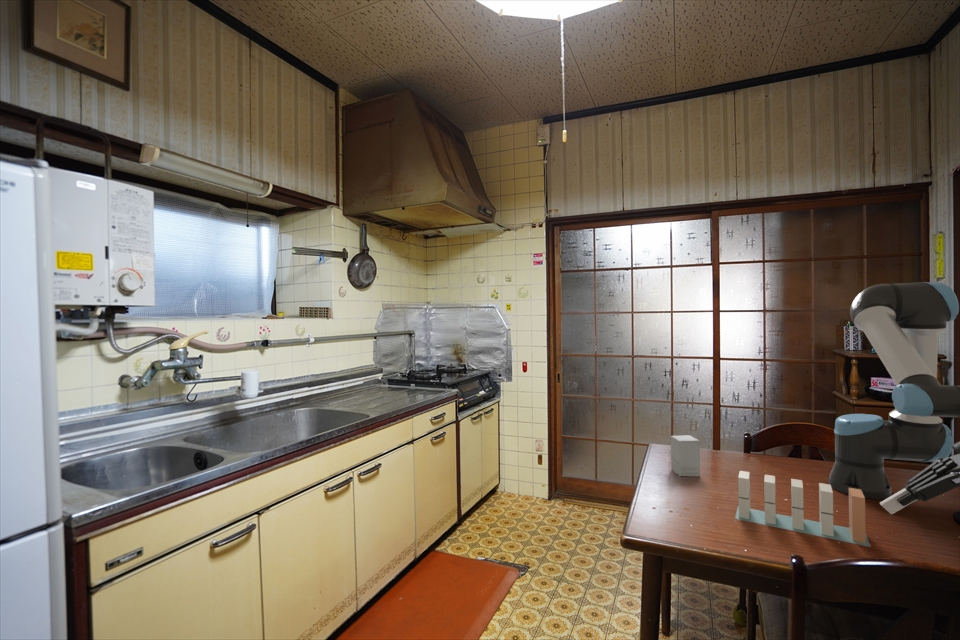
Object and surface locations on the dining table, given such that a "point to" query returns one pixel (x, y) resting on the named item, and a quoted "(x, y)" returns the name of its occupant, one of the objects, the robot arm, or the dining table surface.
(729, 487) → the dining table surface
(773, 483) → the domino
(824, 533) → the domino
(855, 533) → the terracotta domino
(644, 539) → the dining table surface
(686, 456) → the supplement box
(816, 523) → the domino board
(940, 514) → the dining table surface
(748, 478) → the domino
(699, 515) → the dining table surface
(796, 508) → the domino
